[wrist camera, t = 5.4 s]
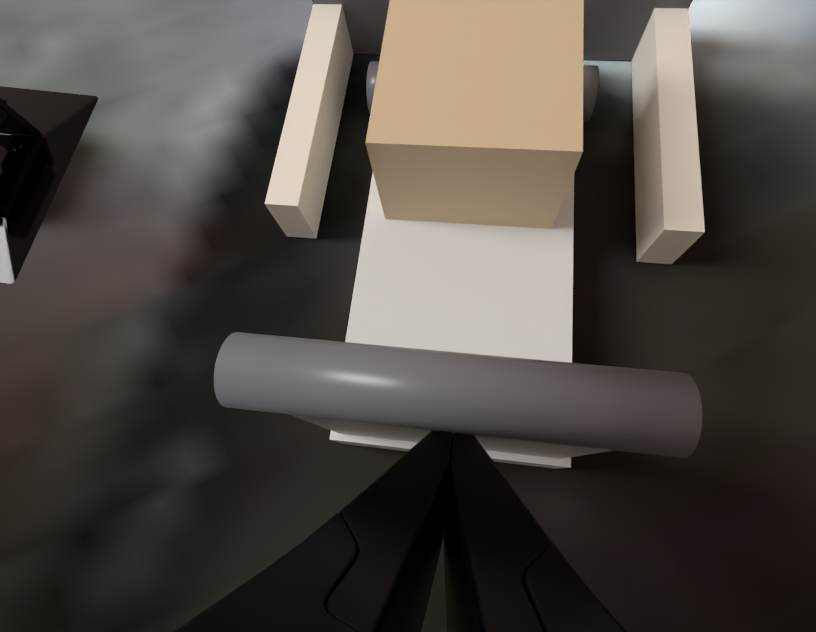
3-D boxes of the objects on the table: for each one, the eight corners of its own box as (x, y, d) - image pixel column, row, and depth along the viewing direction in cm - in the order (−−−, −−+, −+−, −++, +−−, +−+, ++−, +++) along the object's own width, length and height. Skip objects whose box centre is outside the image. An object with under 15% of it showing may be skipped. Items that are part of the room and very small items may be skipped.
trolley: (582, 471, 15) (786, 464, 6) (321, 441, 17) (145, 394, 7) (583, 77, 20) (697, -267, 11) (382, 73, 21) (326, -245, 12)
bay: (671, 264, 17) (718, 219, 14) (286, 236, 19) (255, 190, 16) (660, 39, 20) (696, -37, 17) (332, 33, 22) (313, -38, 19)
